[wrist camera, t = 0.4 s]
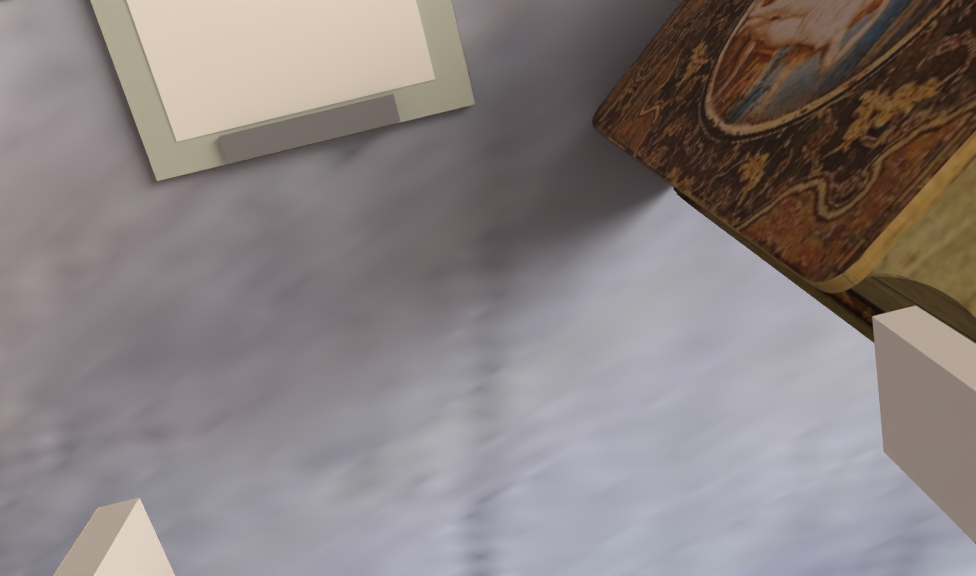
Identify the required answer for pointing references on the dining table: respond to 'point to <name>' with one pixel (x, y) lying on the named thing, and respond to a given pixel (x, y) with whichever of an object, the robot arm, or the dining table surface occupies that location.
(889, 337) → the robot arm
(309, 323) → the dining table surface
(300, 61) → the cream square framed board
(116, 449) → the dining table surface
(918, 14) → the book
